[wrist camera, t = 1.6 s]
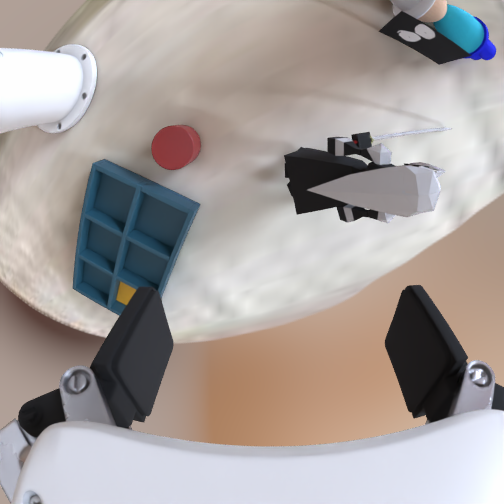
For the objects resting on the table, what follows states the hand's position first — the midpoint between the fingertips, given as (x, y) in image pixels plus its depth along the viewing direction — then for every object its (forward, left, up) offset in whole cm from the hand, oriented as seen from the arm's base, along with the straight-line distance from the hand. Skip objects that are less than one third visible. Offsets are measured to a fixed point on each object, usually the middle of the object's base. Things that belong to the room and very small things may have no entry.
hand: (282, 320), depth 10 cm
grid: (-13, -16, -22) cm, 30 cm away
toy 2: (+6, +29, -22) cm, 37 cm away
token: (-11, -1, -22) cm, 24 cm away
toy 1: (+9, +9, -22) cm, 25 cm away
